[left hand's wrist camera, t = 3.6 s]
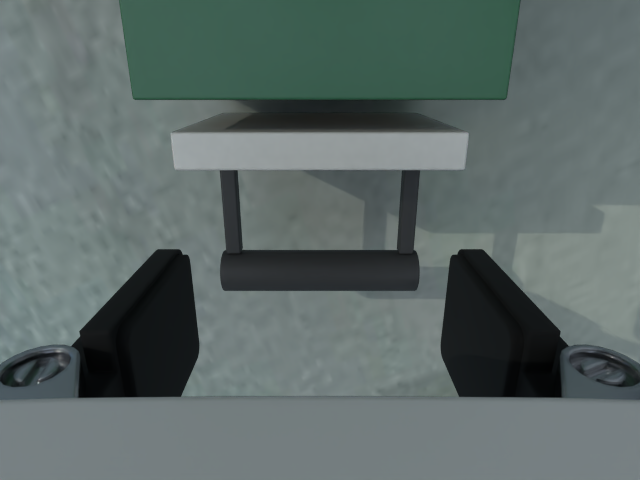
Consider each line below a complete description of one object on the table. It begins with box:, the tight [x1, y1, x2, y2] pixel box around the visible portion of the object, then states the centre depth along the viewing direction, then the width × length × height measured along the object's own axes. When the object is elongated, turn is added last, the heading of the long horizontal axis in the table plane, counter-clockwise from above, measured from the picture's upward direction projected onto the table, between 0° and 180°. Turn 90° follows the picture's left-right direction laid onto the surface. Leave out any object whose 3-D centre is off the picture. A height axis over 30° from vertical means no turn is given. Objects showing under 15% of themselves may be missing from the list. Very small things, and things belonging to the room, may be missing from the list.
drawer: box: [171, 113, 469, 291], centre depth 16 cm, size 20×9×8 cm, turn 0°
